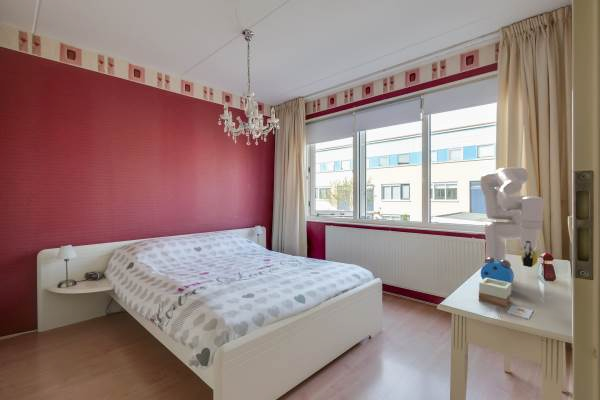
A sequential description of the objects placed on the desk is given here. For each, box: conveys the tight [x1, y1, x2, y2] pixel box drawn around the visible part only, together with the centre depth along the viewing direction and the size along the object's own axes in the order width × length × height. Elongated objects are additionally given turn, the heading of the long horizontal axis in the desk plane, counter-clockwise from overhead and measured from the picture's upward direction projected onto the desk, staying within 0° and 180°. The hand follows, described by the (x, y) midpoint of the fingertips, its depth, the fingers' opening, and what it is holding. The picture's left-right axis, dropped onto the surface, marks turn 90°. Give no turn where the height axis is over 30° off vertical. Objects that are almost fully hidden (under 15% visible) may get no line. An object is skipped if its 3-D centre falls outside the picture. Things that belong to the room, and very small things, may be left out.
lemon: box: [520, 249, 538, 266], centre depth 124 cm, size 6×6×8 cm
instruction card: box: [506, 305, 534, 320], centre depth 116 cm, size 10×7×1 cm
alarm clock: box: [480, 257, 515, 283], centre depth 143 cm, size 13×6×15 cm, turn 38°
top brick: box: [478, 278, 513, 299], centre depth 126 cm, size 10×10×4 cm
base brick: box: [478, 291, 512, 309], centre depth 126 cm, size 10×10×4 cm
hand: (528, 264), depth 124 cm, fingers closed on lemon, 5 cm apart
